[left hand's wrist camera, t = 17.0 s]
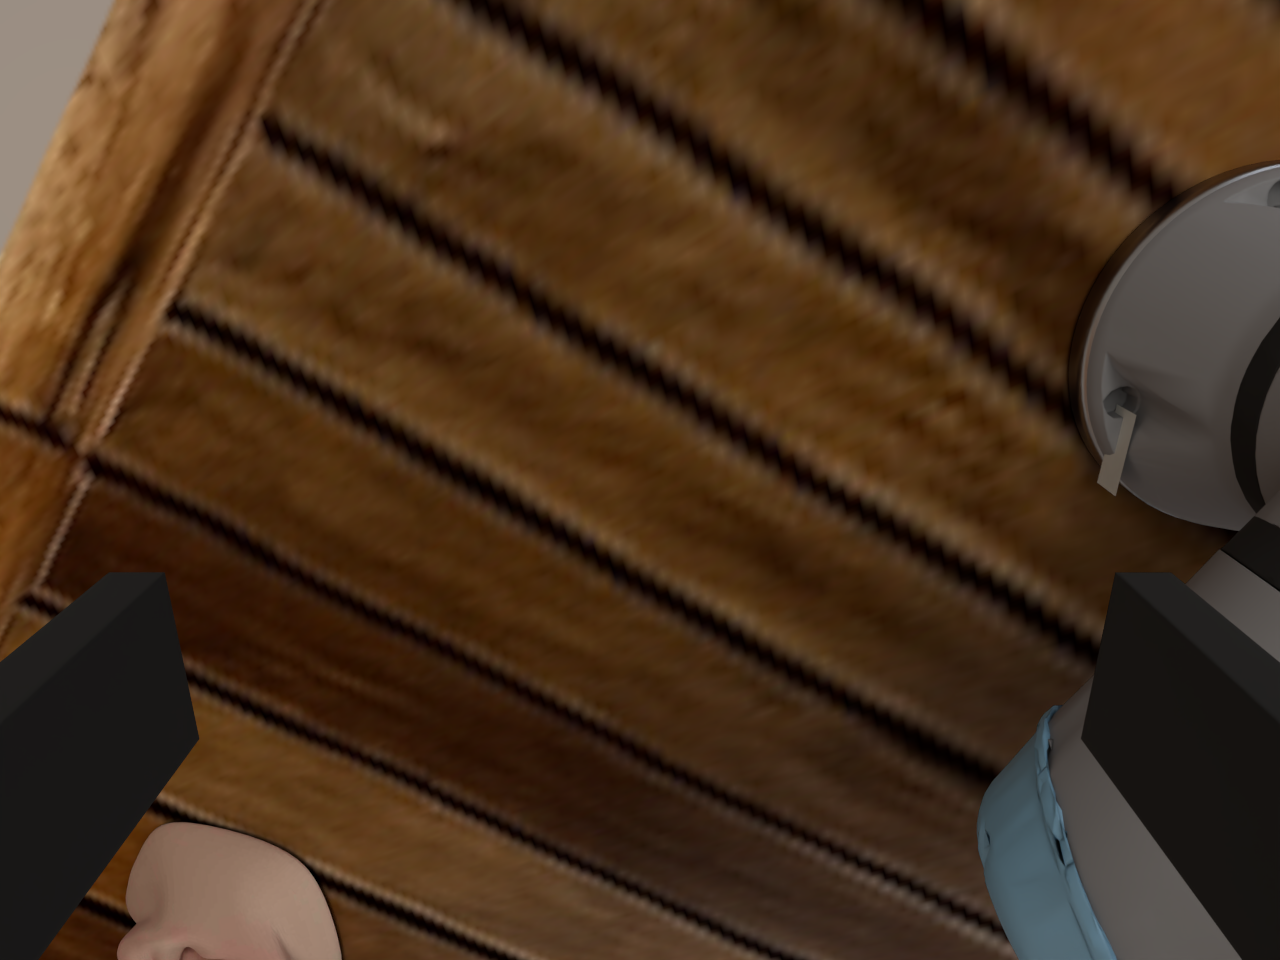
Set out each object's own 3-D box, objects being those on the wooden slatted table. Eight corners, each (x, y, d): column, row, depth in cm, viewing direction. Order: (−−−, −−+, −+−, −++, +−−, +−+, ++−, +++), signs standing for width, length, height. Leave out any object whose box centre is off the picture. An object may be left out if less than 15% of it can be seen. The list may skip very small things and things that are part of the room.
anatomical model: (67, 875, 44) (304, 884, 44) (112, 817, 48) (330, 826, 48) (110, 1066, 49) (324, 1074, 49) (147, 1000, 52) (347, 1007, 53)
